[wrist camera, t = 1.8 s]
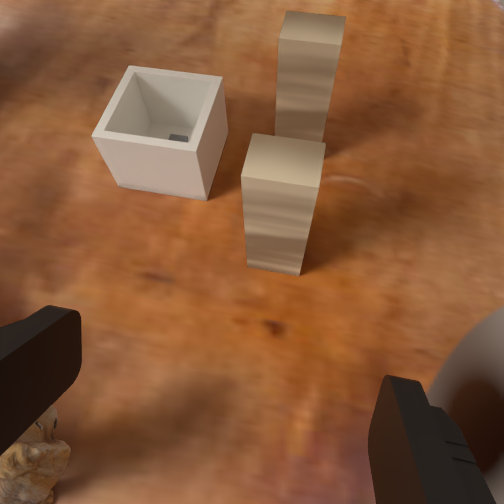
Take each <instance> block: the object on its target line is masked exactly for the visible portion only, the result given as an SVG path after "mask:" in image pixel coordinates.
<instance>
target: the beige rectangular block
mask: <svg viewBox="0 0 504 504" xmlns="http://www.w3.org/2000/svg"><path fill="white" fill-rule="evenodd" d="M345 19H346V17H343V16H334V15H324V14H314V13H304V12H295V11H286V14H285V18H284V22H283V25H282V29H281V32H280V36H279V47H278V70H277V92H276V115H275V136H279V137H286V138H293V139H300V140H308V141H315V142H322V139H323V134H324V129H325V124H326V119H327V114H328V109H329V105H330V100H331V95H332V90H333V85H334V80H335V75H336V70H337V65H338V60H339V55H340V50H341V45H342V38H343V32H344V25H345Z"/></svg>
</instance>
